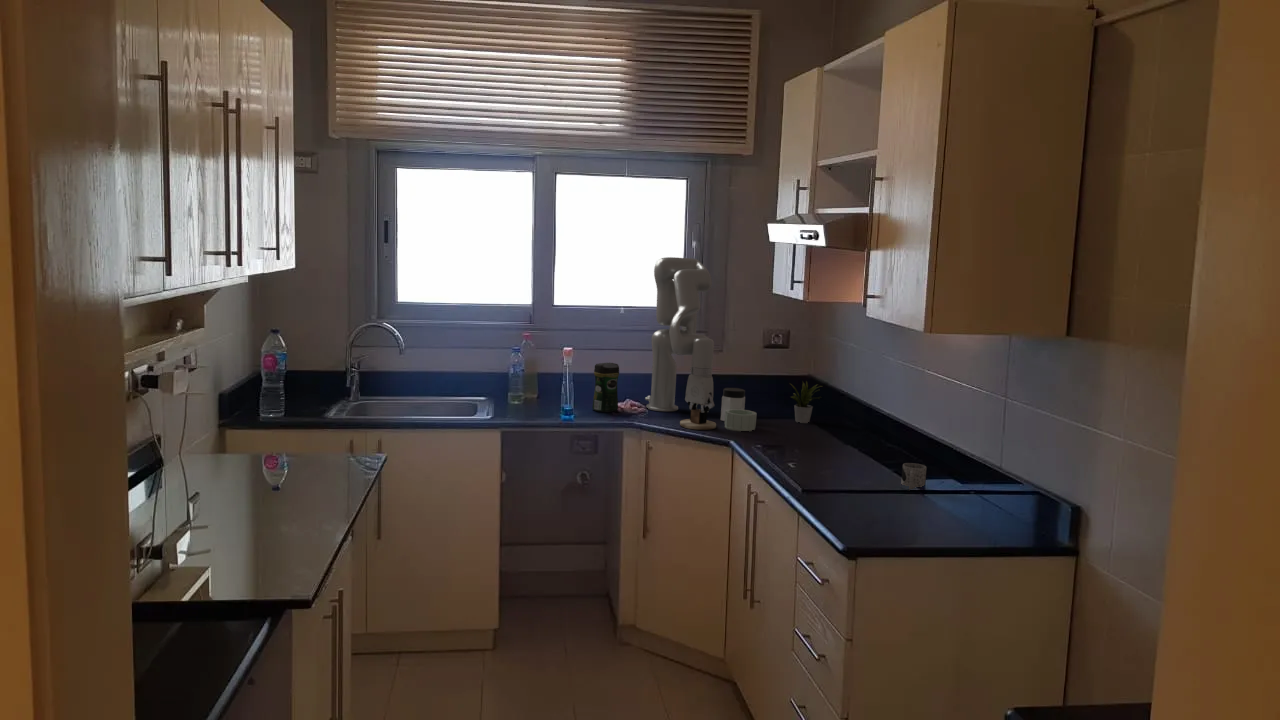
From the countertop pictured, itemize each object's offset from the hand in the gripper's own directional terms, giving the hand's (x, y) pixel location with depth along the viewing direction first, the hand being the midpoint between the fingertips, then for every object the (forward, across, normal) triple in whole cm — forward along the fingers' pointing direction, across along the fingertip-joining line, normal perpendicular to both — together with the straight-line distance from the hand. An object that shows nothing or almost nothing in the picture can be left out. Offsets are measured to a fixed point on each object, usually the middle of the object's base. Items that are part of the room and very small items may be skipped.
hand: (698, 421), depth 357 cm
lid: (+2, 0, 0) cm, 2 cm away
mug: (+1, +94, -9) cm, 95 cm away
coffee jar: (+3, -40, -11) cm, 41 cm away
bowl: (+2, +10, +12) cm, 16 cm away
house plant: (+2, +14, +44) cm, 47 cm away
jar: (+2, -2, +20) cm, 21 cm away
